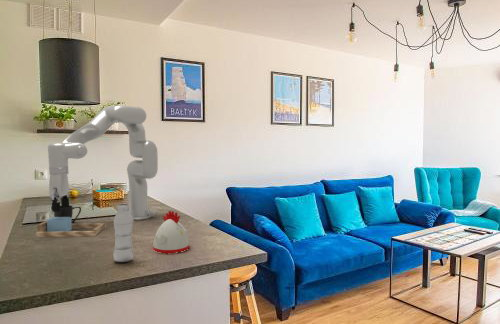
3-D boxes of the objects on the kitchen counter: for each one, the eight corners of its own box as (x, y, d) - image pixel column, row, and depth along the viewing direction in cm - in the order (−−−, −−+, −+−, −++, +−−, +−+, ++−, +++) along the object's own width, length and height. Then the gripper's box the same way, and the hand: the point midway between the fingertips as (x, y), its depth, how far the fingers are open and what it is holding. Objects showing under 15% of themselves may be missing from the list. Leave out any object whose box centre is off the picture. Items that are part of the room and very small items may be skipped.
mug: (80, 226, 176) (80, 207, 176) (53, 228, 172) (52, 208, 171) (81, 222, 184) (81, 204, 183) (55, 224, 179) (54, 205, 179)
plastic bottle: (116, 258, 129) (115, 203, 127) (135, 258, 129) (135, 203, 128) (110, 264, 122) (110, 206, 121) (131, 264, 123) (130, 206, 122)
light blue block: (71, 230, 164) (71, 216, 163) (66, 233, 158) (66, 219, 157) (53, 230, 163) (52, 216, 162) (47, 233, 157) (47, 219, 156)
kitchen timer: (171, 256, 132) (171, 216, 131) (145, 250, 139) (145, 212, 138) (196, 247, 143) (196, 210, 143) (171, 242, 151) (171, 206, 150)
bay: (105, 229, 170) (105, 217, 170) (95, 238, 154) (95, 224, 154) (52, 230, 168) (52, 217, 167) (36, 239, 152) (35, 225, 151)
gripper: (58, 169, 167) (60, 205, 168) (40, 173, 150) (43, 213, 151) (75, 168, 168) (76, 204, 169) (59, 173, 151) (61, 213, 152)
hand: (61, 209), depth 160 cm, fingers open, 9 cm apart
